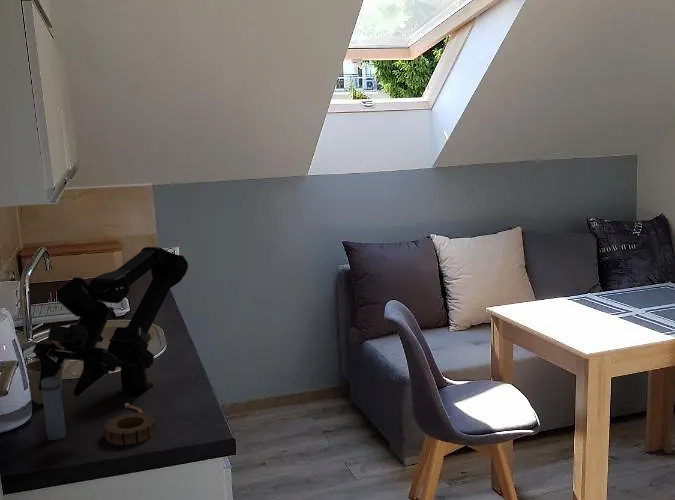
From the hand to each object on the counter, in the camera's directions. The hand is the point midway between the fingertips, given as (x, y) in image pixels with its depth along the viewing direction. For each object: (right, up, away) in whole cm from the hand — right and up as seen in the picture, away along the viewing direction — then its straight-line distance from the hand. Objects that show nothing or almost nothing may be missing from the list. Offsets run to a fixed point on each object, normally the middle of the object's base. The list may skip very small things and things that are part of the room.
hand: (57, 392), depth 144 cm
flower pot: (-11, -6, +20) cm, 24 cm away
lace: (+13, -7, +10) cm, 18 cm away
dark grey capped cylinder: (0, -9, 0) cm, 9 cm away
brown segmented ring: (+15, -9, 0) cm, 18 cm away
